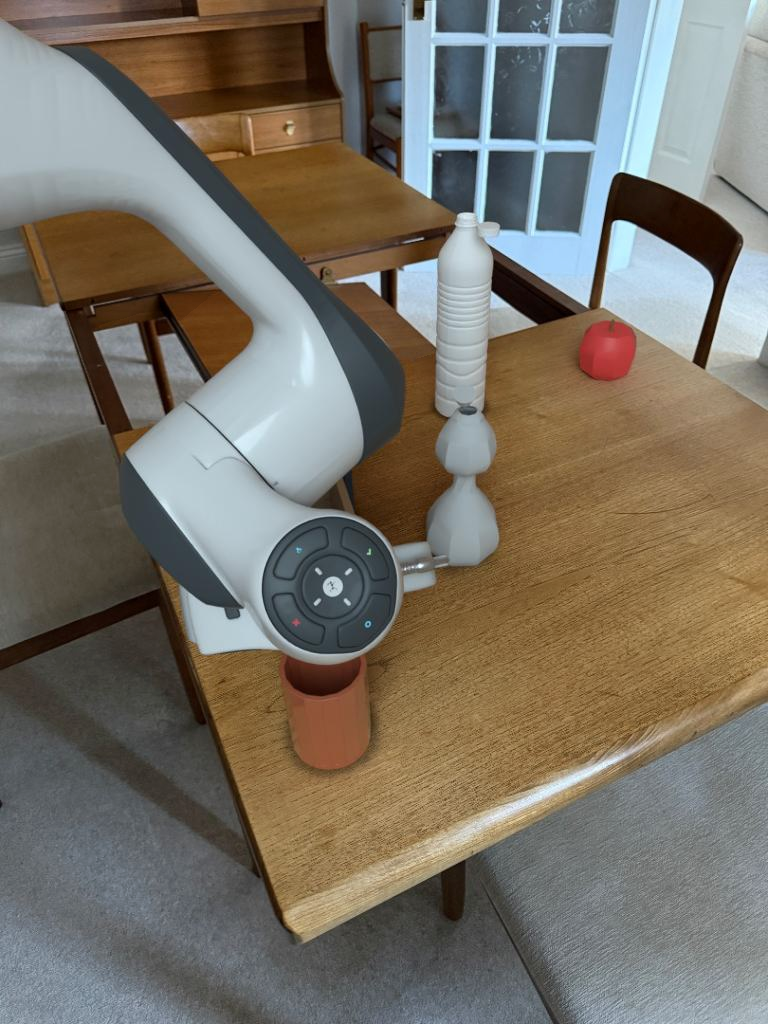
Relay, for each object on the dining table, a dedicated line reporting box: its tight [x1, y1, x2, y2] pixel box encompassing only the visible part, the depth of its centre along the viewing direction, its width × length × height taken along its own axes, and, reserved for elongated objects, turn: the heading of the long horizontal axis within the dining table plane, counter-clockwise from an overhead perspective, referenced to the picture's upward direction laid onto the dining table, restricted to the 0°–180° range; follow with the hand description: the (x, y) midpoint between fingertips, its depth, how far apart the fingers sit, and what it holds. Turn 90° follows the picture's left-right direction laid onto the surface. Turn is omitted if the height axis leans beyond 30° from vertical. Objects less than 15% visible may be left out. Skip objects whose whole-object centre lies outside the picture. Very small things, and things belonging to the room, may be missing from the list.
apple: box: [578, 319, 637, 382], centre depth 102 cm, size 8×8×8 cm
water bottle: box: [434, 212, 501, 418], centre depth 90 cm, size 9×6×25 cm
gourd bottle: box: [425, 385, 500, 568], centre depth 70 cm, size 8×8×20 cm
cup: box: [278, 652, 372, 771], centre depth 58 cm, size 6×6×9 cm
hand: (306, 586), depth 66 cm, fingers closed, pressing on drawer
